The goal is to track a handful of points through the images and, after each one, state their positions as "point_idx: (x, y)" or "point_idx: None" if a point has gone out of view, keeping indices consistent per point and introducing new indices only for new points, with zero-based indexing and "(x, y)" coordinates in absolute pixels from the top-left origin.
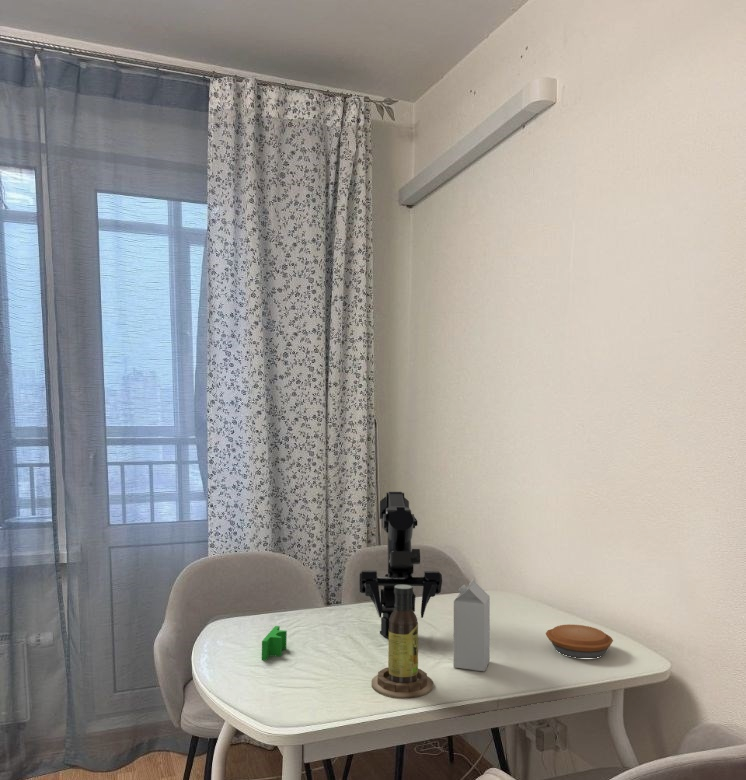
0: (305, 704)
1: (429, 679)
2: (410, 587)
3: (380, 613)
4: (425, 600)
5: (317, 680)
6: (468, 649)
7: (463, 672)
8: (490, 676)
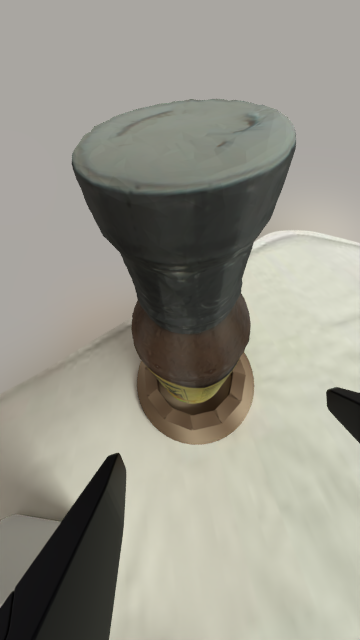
0: (300, 277)
1: (145, 403)
2: (97, 130)
3: (339, 392)
4: (24, 588)
5: (348, 351)
6: (6, 548)
7: (69, 495)
8: (11, 484)
